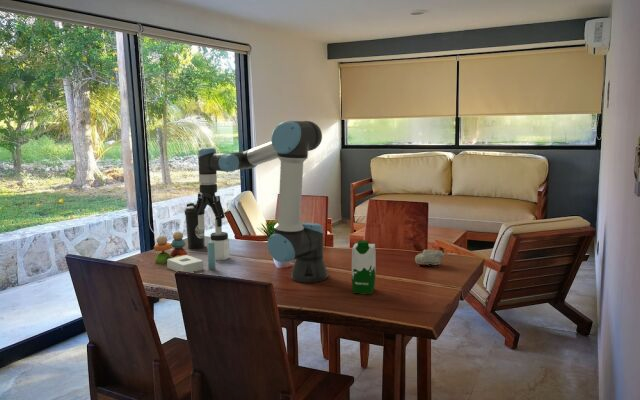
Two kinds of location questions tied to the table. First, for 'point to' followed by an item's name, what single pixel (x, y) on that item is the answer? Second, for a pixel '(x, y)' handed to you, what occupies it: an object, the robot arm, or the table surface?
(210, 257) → the peg
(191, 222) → the water bottle
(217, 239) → the jar
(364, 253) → the milk carton
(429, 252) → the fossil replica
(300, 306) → the table surface
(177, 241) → the colourful stacking toy
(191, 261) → the socket block
